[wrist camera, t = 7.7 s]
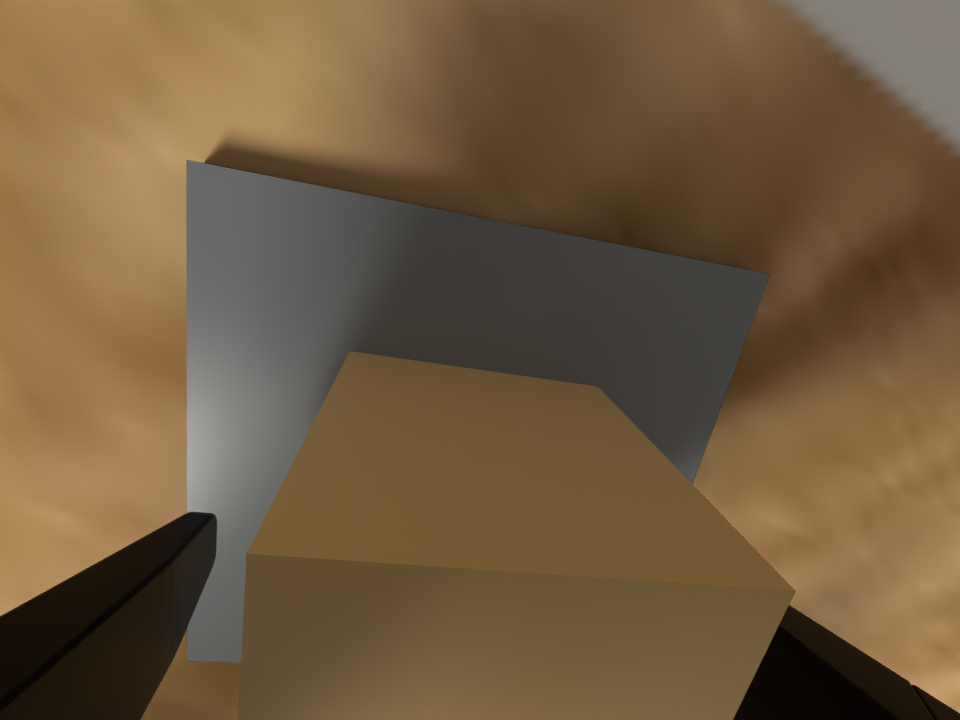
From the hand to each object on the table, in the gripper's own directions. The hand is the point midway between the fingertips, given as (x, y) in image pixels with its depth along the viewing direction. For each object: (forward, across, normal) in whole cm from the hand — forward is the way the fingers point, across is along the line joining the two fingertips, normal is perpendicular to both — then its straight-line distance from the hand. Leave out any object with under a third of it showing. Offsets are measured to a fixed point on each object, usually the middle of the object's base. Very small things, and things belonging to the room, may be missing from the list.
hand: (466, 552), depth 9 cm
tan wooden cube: (+2, 0, 0) cm, 2 cm away
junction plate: (+3, 0, 0) cm, 3 cm away
